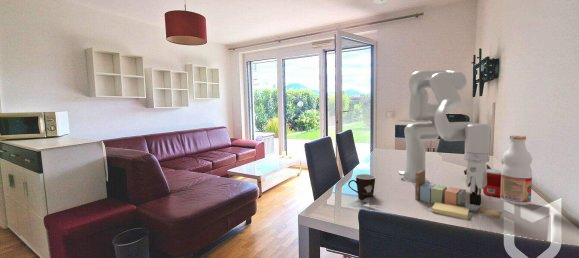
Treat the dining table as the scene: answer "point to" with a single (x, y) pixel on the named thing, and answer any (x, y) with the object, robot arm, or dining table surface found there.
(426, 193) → the blue book
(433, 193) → the olive book
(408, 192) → the dining table surface
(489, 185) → the canned food
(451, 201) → the terracotta book
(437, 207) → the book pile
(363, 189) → the coffee mug
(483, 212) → the shelf
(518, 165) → the fruit juice
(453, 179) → the dining table surface
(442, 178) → the dining table surface
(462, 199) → the bookend
